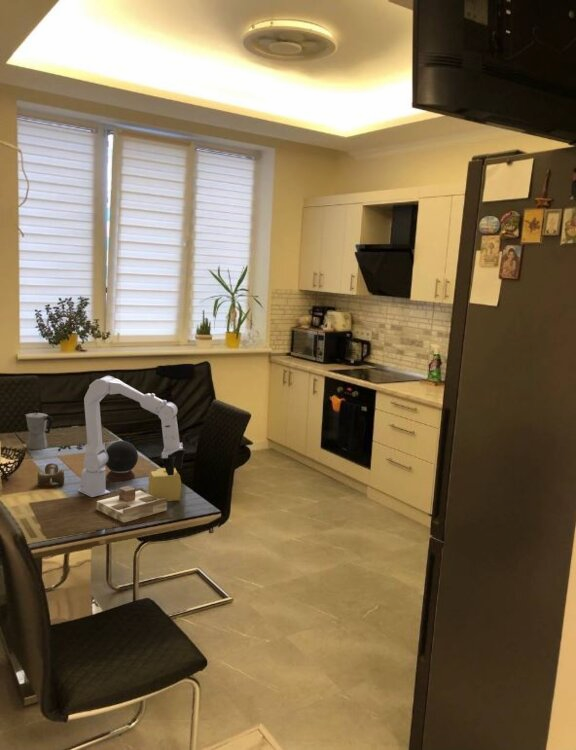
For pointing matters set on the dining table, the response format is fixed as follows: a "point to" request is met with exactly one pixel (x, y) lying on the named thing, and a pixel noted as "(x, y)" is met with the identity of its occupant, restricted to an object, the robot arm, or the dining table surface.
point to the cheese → (164, 485)
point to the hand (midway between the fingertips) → (174, 471)
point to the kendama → (51, 475)
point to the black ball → (121, 461)
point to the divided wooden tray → (132, 506)
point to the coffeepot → (37, 430)
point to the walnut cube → (127, 493)
